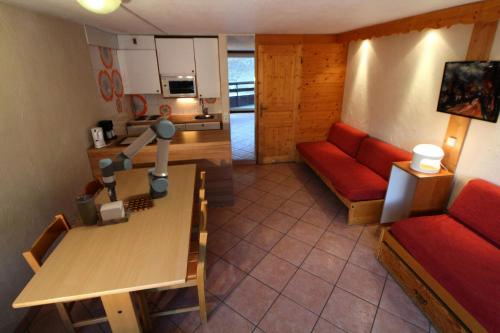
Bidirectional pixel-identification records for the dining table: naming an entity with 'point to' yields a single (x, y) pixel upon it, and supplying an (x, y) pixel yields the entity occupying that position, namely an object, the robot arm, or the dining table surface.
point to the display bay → (114, 221)
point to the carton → (112, 210)
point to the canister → (87, 209)
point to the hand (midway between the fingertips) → (116, 209)
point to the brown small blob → (98, 205)
